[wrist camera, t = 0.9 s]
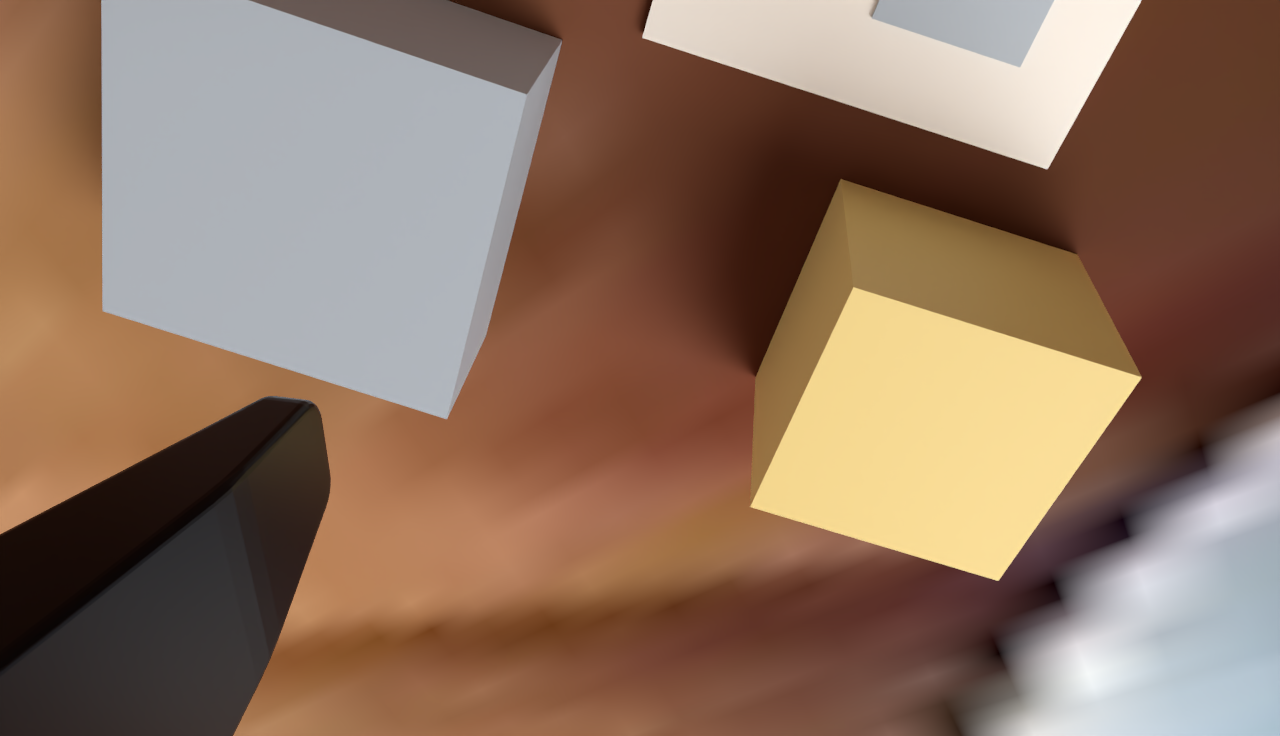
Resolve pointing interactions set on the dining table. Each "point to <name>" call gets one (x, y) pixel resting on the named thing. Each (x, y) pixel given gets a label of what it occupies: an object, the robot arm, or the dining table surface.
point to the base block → (318, 180)
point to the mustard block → (932, 383)
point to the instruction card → (919, 58)
